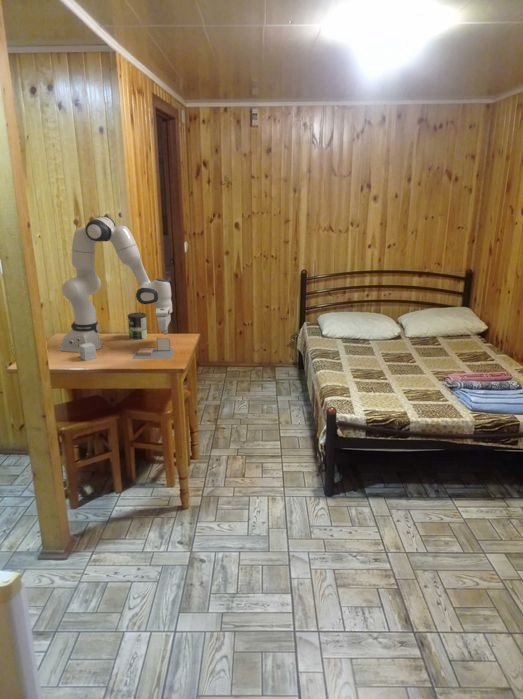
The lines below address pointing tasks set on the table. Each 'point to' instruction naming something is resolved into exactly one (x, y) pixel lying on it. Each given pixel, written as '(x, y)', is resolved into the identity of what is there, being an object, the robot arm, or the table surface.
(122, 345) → the table surface
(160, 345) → the tile
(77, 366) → the table surface
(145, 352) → the tile
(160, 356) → the mat
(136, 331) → the coffee can
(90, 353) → the skincare box
